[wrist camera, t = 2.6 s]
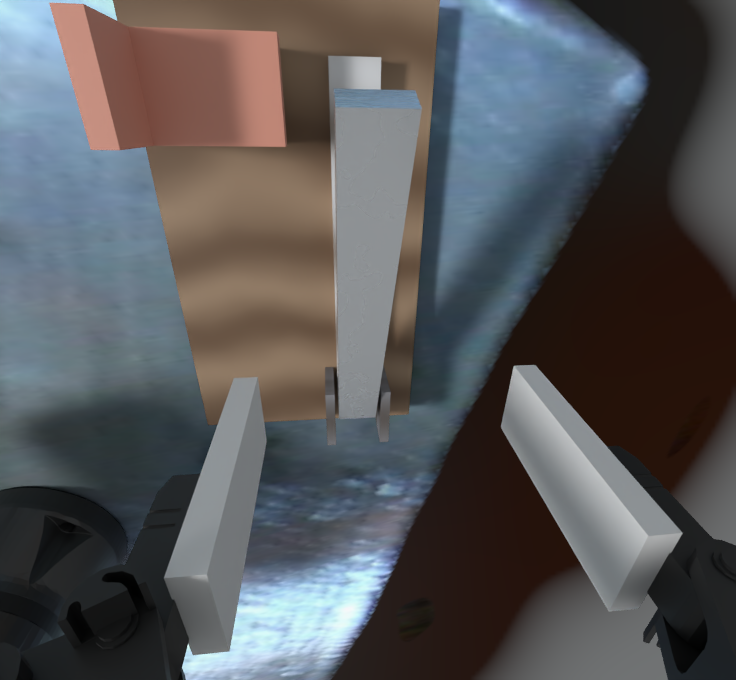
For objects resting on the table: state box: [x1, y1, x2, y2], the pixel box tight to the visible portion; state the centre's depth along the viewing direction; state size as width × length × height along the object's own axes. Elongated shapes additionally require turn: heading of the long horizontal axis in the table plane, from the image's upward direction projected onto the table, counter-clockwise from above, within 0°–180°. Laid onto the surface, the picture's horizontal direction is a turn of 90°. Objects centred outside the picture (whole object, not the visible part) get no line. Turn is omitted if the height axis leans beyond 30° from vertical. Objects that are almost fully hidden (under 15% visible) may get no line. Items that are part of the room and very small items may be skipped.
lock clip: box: [50, 3, 287, 150], centre depth 19 cm, size 5×8×5 cm, turn 89°
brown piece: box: [113, 0, 440, 445], centre depth 28 cm, size 30×18×6 cm, turn 179°
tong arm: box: [334, 89, 422, 419], centre depth 24 cm, size 24×3×2 cm, turn 179°
